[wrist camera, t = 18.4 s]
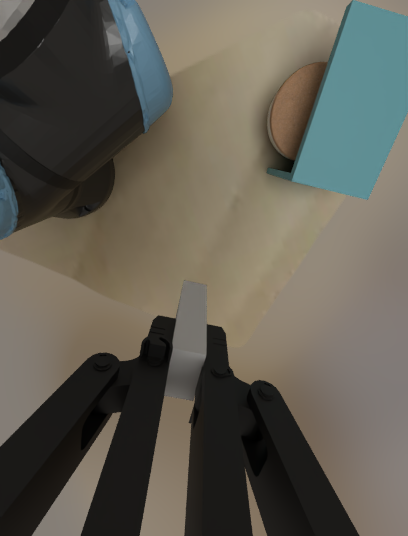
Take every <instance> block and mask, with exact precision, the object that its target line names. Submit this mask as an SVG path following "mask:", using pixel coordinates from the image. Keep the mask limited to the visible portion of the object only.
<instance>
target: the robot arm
mask: <svg viewBox="0 0 408 536" xmlns="http://www.w3.org/2000/svg"><path fill="white" fill-rule="evenodd" d="M172 97H173V87H172V83H171V79H170V76H169V73H168V70H167V67H166V65H165V62H164V60H163V57H162V55H161V52H160V50H159V48H158V45H157V43H156V41H155V39H154V36H153V34H152V32H151V30H150V27H149V25H148V23H147V21H146V19H145V17H144V15H143V13H142V11H141V9H140V7H139V5H138V3H137V2H136V1H135V0H0V240H1V239H3V238H6V237H8V236H9V235H11V234H12V233H14V232H16V231H18V230H21V229H23V228H26V227H28V226H30V225H33V224H35V223H38V222H40V221H43V220H45V219H47V218H50V217H52V216H53V217H59V218H66V219H71V218H79V217H83V216H86V215H88V214H90V213H92V212H94V211H96V210H97V209H99V208H100V207H101V206H102V205H103V204H104V203H105V202H106V201H107V199H108V198H109V196H110V194H111V191H112V189H113V185H114V177H115V171H114V164H113V159H112V158H113V157H114V156H115V155H116V154H117V153H119V152H120V151H121V150H122V149H123V148H125V147H126V146H127V145H128V144H129V143H131V142H132V141H133V140H134V139H135V138H137V137H138V136H139V135H140V134H141V133H143V134H144V133H146V132H147V131H148V130H149V126H151V125H152V124H153V123H154V122H155V121H156V120H157V119H158V118H159V117H160V116H161V115H163V114H164V113H165V112H166V111H167V110H168V108H169V107H170V105H171V102H172ZM164 396H169V397H175V398H181V399H186V400H192V401H193V400H194V396H195V403H194V407H193V410H192V414H191V417H190V421H189V423H191V438H190V439H191V440H190V454H189V470H188V471H189V472H188V486H187V487H188V488H187V503H186V519H185V535H184V536H253V534H252V526H251V517H250V509H249V500H248V491H247V483H246V474H245V469H246V472H247V475H248V478H249V481H250V484H251V487H252V490H253V493H254V496H255V499H256V502H257V505H258V508H259V511H260V515H261V518H262V521H263V524H264V527H265V530H266V533H267V536H359V534H358V533H357V531H356V529H355V527H354V525H353V523H352V522H351V520H350V518H349V516H348V514H347V513H346V511H345V509H344V507H343V505H342V504H341V502H340V500H339V498H338V496H337V495H336V493H335V491H334V489H333V487H332V486H331V484H330V482H329V480H328V478H327V477H326V475H325V474H324V471H323V470H322V468H321V466H320V464H319V462H318V461H317V459H316V457H315V455H314V453H313V452H312V450H311V448H310V446H309V444H308V443H307V441H306V439H305V437H304V436H303V434H302V432H301V430H300V428H299V427H298V425H297V423H296V421H295V419H294V417H293V416H292V414H291V412H290V410H289V409H288V407H287V405H286V403H285V402H284V400H283V398H282V396H281V394H280V393H279V391H278V390H277V388H276V387H274V386H273V385H272V384H270V383H268V382H266V381H261V380H259V381H254V382H253V383H252V384H251V385H249V384H247V383H245V382H243V381H241V380H239V379H238V378H236V377H235V376H234V374H233V371H232V369H231V368H230V367H229V362H228V352H227V342H226V333H225V332H224V330H223V329H222V327H218V326H213V325H208V324H207V285H205V284H200V283H195V282H190V281H185V280H184V282H183V287H182V291H181V296H180V301H179V305H178V310H177V314H176V319H174V318H169V317H164V316H159V315H158V316H157V317H156V318H155V319H154V320H153V322H152V325H151V329H150V331H149V334H148V337H146V338H145V339H144V340H143V341H142V345H141V350H140V356H139V357H137V358H135V359H133V360H129V361H119V360H118V358H117V357H116V356H114V355H113V354H110V353H98V354H95V355H92V356H91V357H90V358H88V359H87V360H86V361H85V362H84V363H83V364H82V365H81V366H80V367H79V368H78V369H77V370H76V371H75V372H74V373H73V374H72V375H71V376H70V377H69V378H68V379H67V380H66V381H65V382H64V383H63V384H62V385H61V386H60V387H59V388H58V389H57V390H56V391H55V392H54V393H53V394H52V395H51V396H50V397H49V398H48V399H47V400H46V401H45V402H44V403H43V404H42V405H41V406H40V407H39V408H38V409H37V410H36V411H35V412H34V413H33V414H32V416H31V417H30V418H28V419H27V420H26V421H25V422H24V423H23V424H22V425H21V426H20V427H19V429H18V430H17V431H15V433H13V435H11V437H10V438H9V439H8V440H7V441H6V442H5V443H4V444H3V445H2V446H1V447H0V536H32V534H33V533H34V531H35V530H36V528H37V527H38V525H39V524H40V522H41V521H42V519H43V517H44V516H45V515H46V513H47V512H48V510H49V509H50V507H51V505H52V504H53V503H54V501H55V499H56V498H57V497H58V495H59V494H60V492H61V491H62V489H63V488H64V486H65V485H66V483H67V482H68V480H69V478H70V477H71V476H72V474H73V473H74V471H75V470H76V468H77V467H78V465H79V464H80V462H81V461H82V459H83V458H84V456H85V455H86V453H87V452H88V450H89V449H90V447H91V446H92V444H93V443H94V441H95V440H96V438H97V437H98V435H99V434H100V432H101V431H102V429H103V428H104V426H105V425H106V423H107V421H108V420H109V418H110V417H111V415H112V413H116V412H121V415H120V418H119V421H118V424H117V427H116V430H115V433H114V436H113V439H112V442H111V445H110V448H109V451H108V454H107V457H106V460H105V464H104V466H103V469H102V472H101V475H100V478H99V481H98V485H97V487H96V491H95V494H94V497H93V500H92V503H91V506H90V509H89V512H88V515H87V518H86V521H85V524H84V527H83V530H82V533H81V536H139V535H140V530H141V523H142V519H143V513H144V507H145V501H146V496H147V490H148V484H149V478H150V473H151V467H152V461H153V455H154V449H155V444H156V438H157V433H158V427H159V421H160V416H161V410H162V404H163V399H164Z"/></svg>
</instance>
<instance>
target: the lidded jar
mask: <svg viewBox="0 0 408 536" xmlns="http://www.w3.org/2000/svg"><path fill="white" fill-rule="evenodd" d="M327 64H328V62H318V63H312V64H309V65H306V66H304V67H302V68H301V69H299V70H297V71H296V72H295V73H293V74H292V75H291V76H290V77H289V78H288V79H287V80H286V81H285V82H284V83H283V85H282V86H281V87H280V89H279V90H278V92H277V93H276V95H275V97H274V98H273V100H272V103H271V105H270V108H269V112H268V117H267V130H268V135H269V138H270V141H271V143H272V145H273V146H274V148H275V149H276V150H277V151H278V152H279V153H280V154H281V155H283V156H284V157H286V158H288V159H291V160H293V161H295V160H296V157H297V154H298V151H299V148H300V145H301V142H302V139H303V136H304V133H305V130H306V127H307V124H308V121H309V118H310V115H311V112H312V109H313V106H314V103H315V100H316V97H317V94H318V91H319V88H320V85H321V82H322V79H323V76H324V73H325V70H326V67H327Z"/></svg>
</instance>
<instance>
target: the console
mask: <svg viewBox="0 0 408 536" xmlns="http://www.w3.org/2000/svg"><path fill="white" fill-rule="evenodd" d="M407 112H408V16H404V15H401V14H398V13H395V12H391V11H388V10H385V9H381V8H378V7H375V6H372V5H368V4H365V3H362V2H358V1H355V0H352V2H351V3H350V4H349V5H348V6H347V7H346V10H345V13H344V16H343V19H342V22H341V25H340V28H339V31H338V34H337V37H336V40H335V43H334V46H333V49H332V52H331V55H330V58H329V61H328V64H327V67H326V70H325V73H324V76H323V79H322V82H321V85H320V88H319V91H318V94H317V97H316V100H315V103H314V106H313V109H312V112H311V115H310V118H309V121H308V124H307V127H306V130H305V133H304V136H303V139H302V142H301V145H300V148H299V151H298V154H297V157H296V160H295V163H294V166H293V169H292V172H291V173H289V172H284V171H280V170H276V169H272V168H268V169H267V173H268V174H271V175H274V176H277V177H280V178H283V179H286V180H289V181H293V182H297V183H301V184H305V185H309V186H313V187H317V188H321V189H325V190H329V191H334V192H338V193H342V194H346V195H350V196H355V197H359V198H363V199H367V200H368V198H369V196H370V194H371V192H372V189H373V187H374V185H375V183H376V181H377V178H378V176H379V174H380V172H381V170H382V167H383V165H384V163H385V161H386V159H387V156H388V154H389V152H390V150H391V148H392V145H393V143H394V141H395V139H396V137H397V135H398V132H399V130H400V128H401V126H402V123H403V121H404V119H405V117H406V115H407Z"/></svg>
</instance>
